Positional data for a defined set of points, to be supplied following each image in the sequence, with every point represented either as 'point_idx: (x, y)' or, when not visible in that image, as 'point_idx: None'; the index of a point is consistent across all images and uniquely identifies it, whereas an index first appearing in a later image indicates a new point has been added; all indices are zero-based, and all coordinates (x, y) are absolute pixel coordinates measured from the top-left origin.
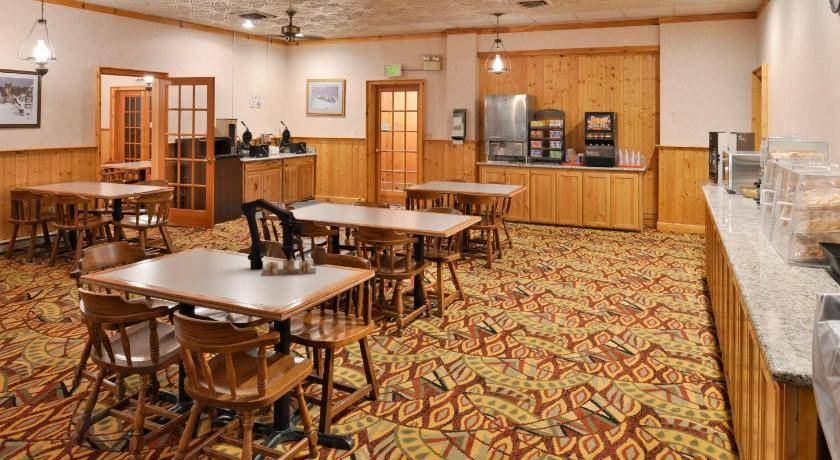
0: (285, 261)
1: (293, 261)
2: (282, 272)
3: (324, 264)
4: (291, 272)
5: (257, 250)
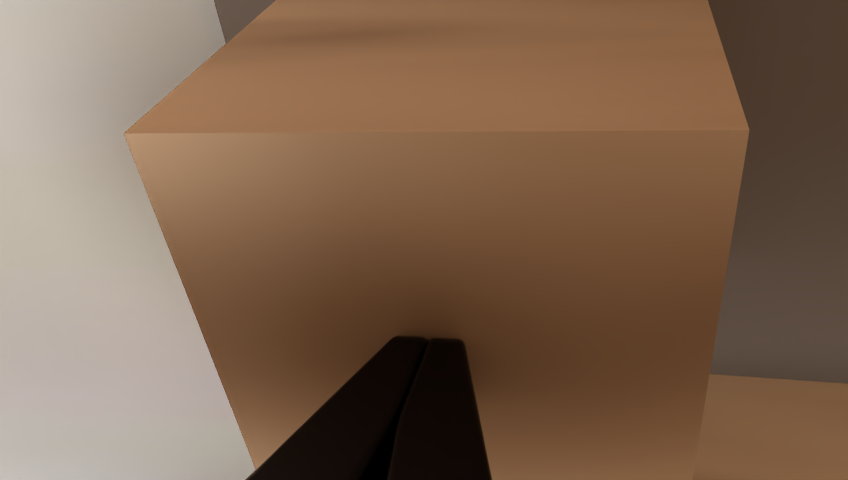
0: (626, 469)
1: (740, 151)
2: None
3: None
4: (769, 35)
5: None
